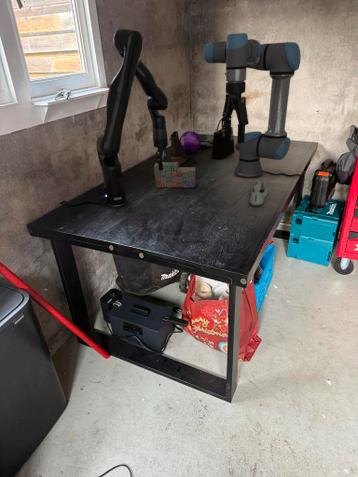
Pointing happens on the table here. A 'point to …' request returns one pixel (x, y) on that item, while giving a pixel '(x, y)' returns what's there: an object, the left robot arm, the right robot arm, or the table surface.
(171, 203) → the table surface
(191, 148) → the decorative orb
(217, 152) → the handbag
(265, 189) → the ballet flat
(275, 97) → the right robot arm
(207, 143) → the pair of gloves
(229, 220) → the table surface
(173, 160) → the boot
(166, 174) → the stack of blocks
